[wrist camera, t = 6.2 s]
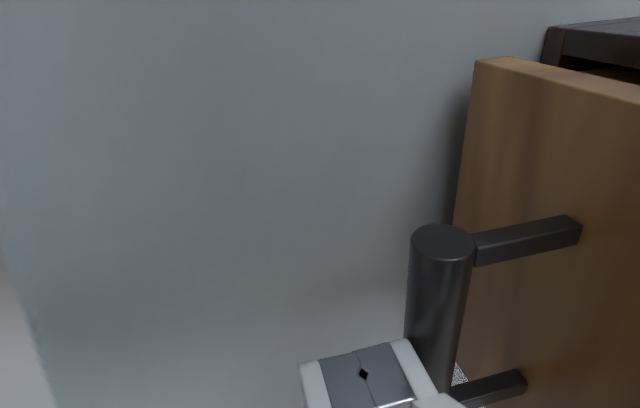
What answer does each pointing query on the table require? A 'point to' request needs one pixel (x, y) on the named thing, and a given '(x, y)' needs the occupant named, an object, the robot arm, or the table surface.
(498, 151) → the wooden pull-out drawer
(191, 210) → the table surface
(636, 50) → the wooden drawer box
